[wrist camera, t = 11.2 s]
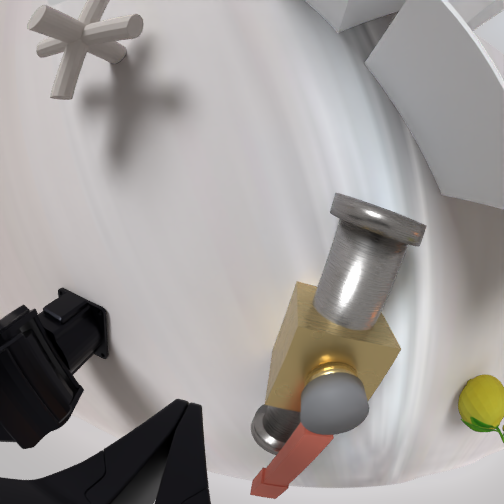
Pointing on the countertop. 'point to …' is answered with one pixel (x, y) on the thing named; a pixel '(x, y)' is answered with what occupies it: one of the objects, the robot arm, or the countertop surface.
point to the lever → (314, 429)
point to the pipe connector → (81, 40)
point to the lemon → (482, 404)
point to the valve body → (338, 316)
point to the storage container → (439, 86)
